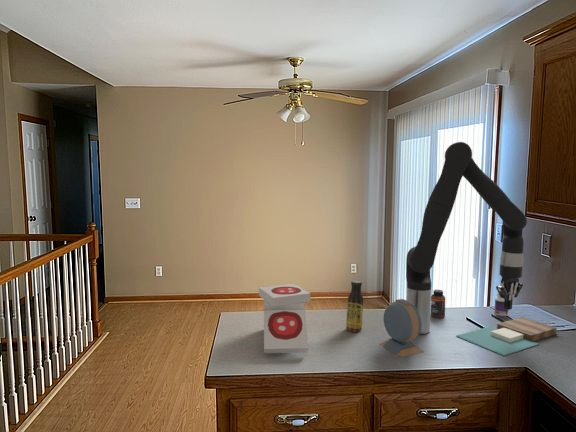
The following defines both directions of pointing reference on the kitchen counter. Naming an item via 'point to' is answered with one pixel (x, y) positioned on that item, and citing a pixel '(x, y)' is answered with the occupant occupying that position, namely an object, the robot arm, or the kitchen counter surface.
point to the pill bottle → (500, 306)
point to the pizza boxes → (285, 318)
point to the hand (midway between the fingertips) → (507, 309)
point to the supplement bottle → (438, 304)
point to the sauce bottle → (355, 308)
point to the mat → (495, 341)
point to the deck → (528, 328)
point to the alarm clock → (402, 328)
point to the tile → (507, 335)
